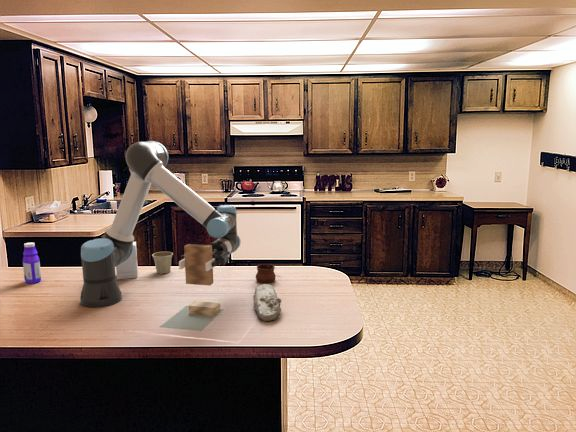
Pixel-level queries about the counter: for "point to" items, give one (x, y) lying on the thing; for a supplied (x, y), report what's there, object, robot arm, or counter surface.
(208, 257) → the slab
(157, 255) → the flower pot
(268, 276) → the ceramic pot
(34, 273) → the bottle
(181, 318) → the mat
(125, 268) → the supplement box
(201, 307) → the tan wooden block
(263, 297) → the elongated rock
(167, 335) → the counter surface
